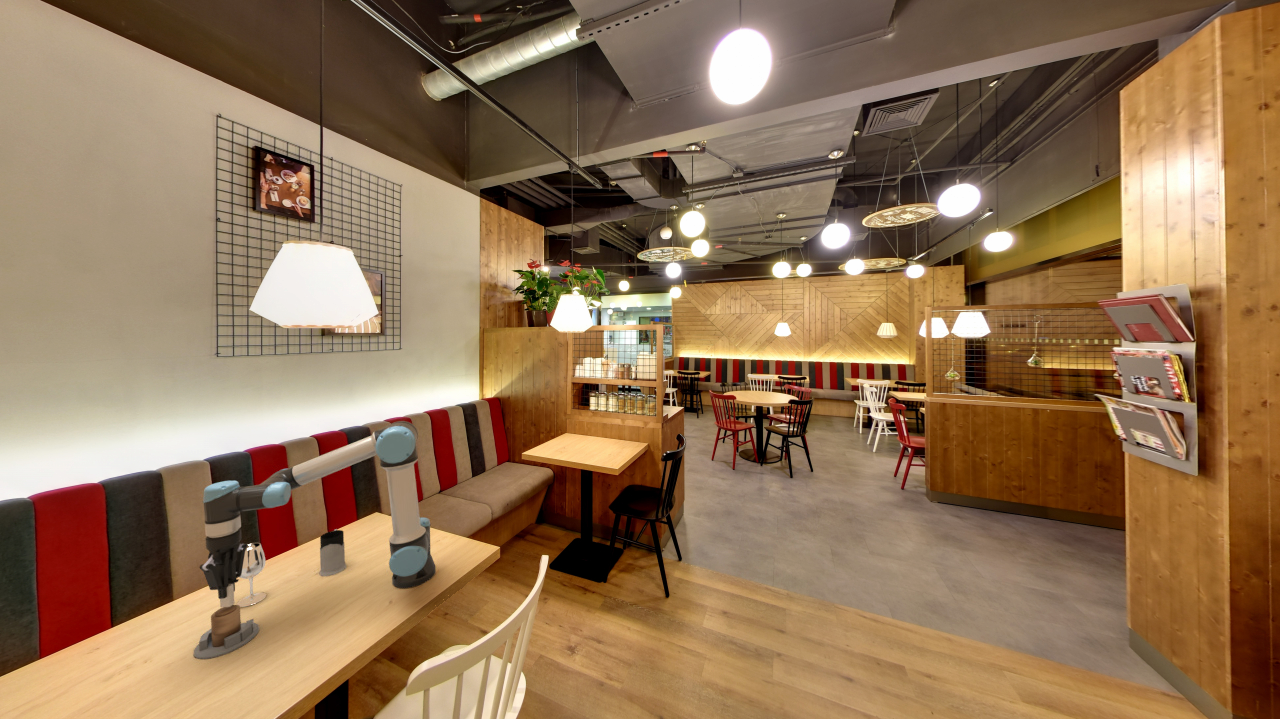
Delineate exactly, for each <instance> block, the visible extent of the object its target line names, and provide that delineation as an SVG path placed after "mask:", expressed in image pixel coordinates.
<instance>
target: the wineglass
mask: <svg viewBox="0 0 1280 719" xmlns="http://www.w3.org/2000/svg"><path fill="white" fill-rule="evenodd" d="M247 544H248V543H247ZM265 556H266V555H265V552H264V550H263V547H262V544H261V543H260V542H252V543H249V544H248V546H247V548H246V551H245V555H244V562H243V568H242V574H241V576H240V577H239V578H240V579H243V580H246V579H247V580H248V581H249V595H247V596H245V597H243V598H241V599H239V601H238V602H236V605H239V606H240V608H245V607H249V606H253V605H255V604H258V603H259V602H261V601H263V600H264V599H265V598H266V597H267V593H265V592H257V593H254V590H253V589H254V588H253V587H254V586H253V584H254V583H253V581H254V577H257V576H258V575H260V573H261V572H262V571H263V570H264V568H265V566H266V557H265ZM236 573H237V572H236Z"/></svg>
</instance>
